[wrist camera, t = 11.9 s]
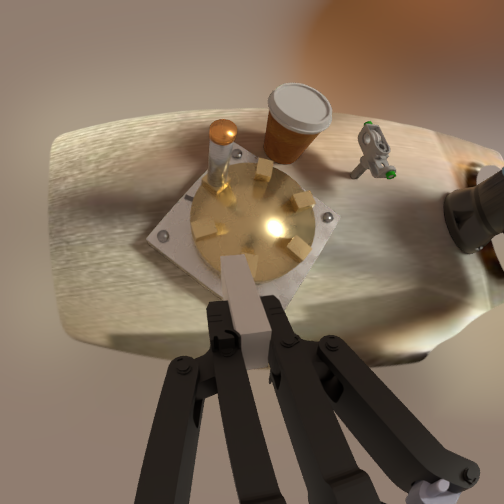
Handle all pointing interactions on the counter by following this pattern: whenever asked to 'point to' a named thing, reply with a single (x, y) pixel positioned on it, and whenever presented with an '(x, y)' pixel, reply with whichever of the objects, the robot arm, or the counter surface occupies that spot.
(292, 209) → the brass turntable plate
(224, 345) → the robot arm
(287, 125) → the disposable coffee cup
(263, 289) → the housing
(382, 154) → the mechanical component
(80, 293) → the counter surface
